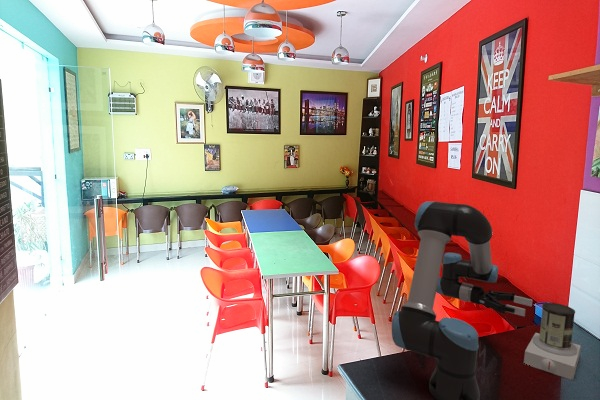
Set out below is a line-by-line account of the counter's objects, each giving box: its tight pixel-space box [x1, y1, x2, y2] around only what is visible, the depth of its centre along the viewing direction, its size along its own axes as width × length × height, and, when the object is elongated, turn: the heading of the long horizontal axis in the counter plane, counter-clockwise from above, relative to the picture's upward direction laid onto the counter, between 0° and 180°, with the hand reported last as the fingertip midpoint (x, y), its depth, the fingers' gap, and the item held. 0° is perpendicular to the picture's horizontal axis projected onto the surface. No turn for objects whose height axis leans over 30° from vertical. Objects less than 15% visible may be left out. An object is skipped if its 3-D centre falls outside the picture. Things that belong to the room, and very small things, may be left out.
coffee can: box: [539, 302, 576, 350], centre depth 144 cm, size 10×10×14 cm
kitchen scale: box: [523, 332, 581, 381], centre depth 143 cm, size 15×21×6 cm
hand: (528, 307), depth 150 cm, fingers open, 13 cm apart
